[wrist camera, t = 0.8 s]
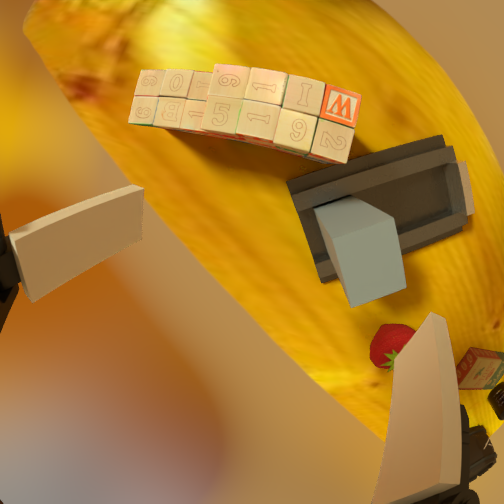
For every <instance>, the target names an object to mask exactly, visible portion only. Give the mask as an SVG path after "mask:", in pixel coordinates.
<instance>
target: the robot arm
mask: <svg viewBox="0 0 504 504" xmlns="http://www.w3.org/2000/svg"><path fill="white" fill-rule="evenodd" d="M143 198H144V188H142V187H139V186H137V185H134V184H133V185H130V186H126V187H123V188H120V189H117V190H114V191H111V192H108V193H105V194H102V195H99V196H97V197H94V198H91V199H88V200H85V201H83V202H80V203H77V204H75V205H72V206H69V207H67V208H64V209H62V210H59V211H57V212H54V213H52V214H50V215H47V216H45V217H42V218H40V219H38V220H35V221H33V222H31V223H29V224H26V225H24V226H22V227H20V228H18V229H16V230H14V231H12V232H10V233H9V235H8V236H6V237H5V235H4V230H3V225H2V219H1V214H0V332H1V330H2V328H3V325H4V323H5V320H6V318H7V315H8V313H9V311H10V309H11V307H12V304H13V302H14V300H15V298H16V296H17V294H18V291H19V286H18V283H19V282H22V286H23V289H24V292H25V294H26V295H27V297H28V298H29V299H30V301H31V302H32V303H34V302H35V301H37V300H38V299H40V298H41V297H43V296H44V295H46V294H48V293H49V292H51V291H52V290H54V289H56V288H57V287H59V286H61V285H62V284H64V283H66V282H67V281H69V280H70V279H72V278H74V277H75V276H77V275H79V274H80V273H82V272H84V271H86V270H87V269H89V268H91V267H92V266H94V265H96V264H98V263H100V262H101V261H103V260H105V259H107V258H108V257H110V256H112V255H114V254H116V253H118V252H119V251H121V250H123V249H124V248H127V247H129V246H130V245H132V244H134V243H136V242H138V241H140V240H141V239H142V215H143ZM469 433H470V431H469V418H468V415H467V412H466V409H465V407H464V405H461V404H460V401H459V391H458V383H457V376H456V369H455V363H454V357H453V352H452V346H451V341H450V337H449V332H448V328H447V324H446V320H445V318H443V317H441V316H439V315H437V314H435V313H432V312H430V314H429V315H428V316H427V318H426V319H425V321H424V322H423V323H422V325H421V326H420V327H419V329H418V330H417V331H416V333H415V334H414V335H413V337H412V338H411V339H410V341H409V342H408V343H407V344H406V346H405V347H404V348H403V349H402V351H401V352H400V353H399V354H398V355H397V357H396V358H395V359H394V376H393V389H392V400H391V409H390V417H389V424H388V431H387V437H386V443H385V448H384V454H383V459H382V464H381V468H380V473H379V477H378V481H377V485H376V488H375V492H374V496H373V499H372V503H371V504H480V502H479V498H478V495H477V493H476V492H475V491H473V490H470V489H469V473H470V446H469V444H470V435H469ZM0 504H3V502H2V501H1V500H0Z"/></svg>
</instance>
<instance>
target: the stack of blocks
mask: <svg viewBox="0 0 504 504" xmlns="http://www.w3.org/2000/svg"><path fill="white" fill-rule="evenodd" d="M134 95H135V97H134V100H133V104H132V108H131V112H130V117H129V121H128V123H130V124H135V125H141V126H150V127H156V128H162V129H170V130H178V131H182V132H187V133H194V134H200V135H206V136H211V137H217V138H222V139H227V140H228V139H230V140H235V141H240V142H245V143H249V144H254V145H259V146H263V147H267V148H271V149H276V150H278V151H281V152H285V153H289V154H292V155H296V156H300V157H302V158H306V159H309V160H313V161H316V162H319V163H322V164H328V163H332V164H346V163H347V159H348V155H349V152H350V148H351V144H352V140H353V136H354V132H355V130H354V128H355V126H356V122H357V118H358V113H359V109H360V104H361V98H362V96H361V95H360V94H357V93H354V92H351V91H348V90H345V89H342V88H339V87H335V86H332V85H329V84H325V83H324V82H321V81H317V80H314V79H309V78H305V77H301V76H296V75H288V74H287V73H285V72H280V71H274V70H268V69H262V68H250V67H245V66H236V65H226V64H215V67H214V70H213V73H212V72H201V71H194V70H184V69H167V70H141V73H140V76H139V79H138V83H137V87H136V90H135V94H134Z"/></svg>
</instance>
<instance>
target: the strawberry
mask: <svg viewBox="0 0 504 504" xmlns="http://www.w3.org/2000/svg"><path fill="white" fill-rule="evenodd" d="M415 333H416V331H415V330H413V329H412V328H410V327H408V326H407V325H403V324H384V325H382V326H381V327H380V329H379V330H378V332H377V333H376V334H375V336H374V338H373V340H372V342H371V345H370V359H371V361H372V362H373V364H374V365H375V366H376V367H379V368H384V369H389V370H388V372H389V371H391V370H393V369H394V359H395V358H396V357H397V355H398V354H399V353H400V352H401V351H402V349H403V348H404V347H405V346H406V344H407V343H408V342H409V341H410V339H411V338H412V337H413V335H414V334H415Z"/></svg>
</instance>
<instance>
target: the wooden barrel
mask: <svg viewBox="0 0 504 504" xmlns="http://www.w3.org/2000/svg"><path fill="white" fill-rule="evenodd" d="M469 431H470V433H469V435H470V444H469V446H470V473H469V482H471V481H473V480H475V479H476V478H477V475H478V476H481V475H482V474H484V473H485V472H486V471H488V469H489V468H491V467H492V466H493V465H494V464H495V463H496V458H497V454H496V453H495V452H494V448H493V446H492V443H491V441H490V439H489V437H488V436H487V434H486V433H487V432H486V430H485V428H484V427H481V426H480V425H478V426H475V427H472V428H469Z"/></svg>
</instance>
